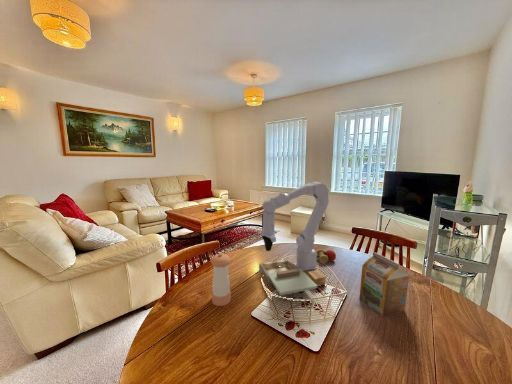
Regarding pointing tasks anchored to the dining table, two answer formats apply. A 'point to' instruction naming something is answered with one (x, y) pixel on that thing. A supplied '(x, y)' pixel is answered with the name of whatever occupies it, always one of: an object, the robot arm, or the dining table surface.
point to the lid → (291, 281)
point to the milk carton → (383, 285)
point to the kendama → (326, 255)
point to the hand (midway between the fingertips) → (268, 250)
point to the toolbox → (275, 268)
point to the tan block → (317, 277)
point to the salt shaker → (221, 280)
